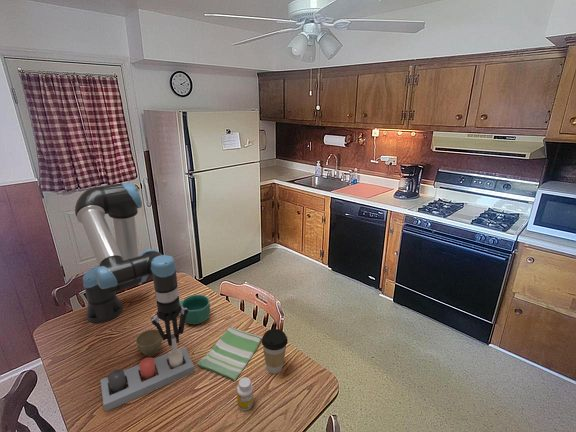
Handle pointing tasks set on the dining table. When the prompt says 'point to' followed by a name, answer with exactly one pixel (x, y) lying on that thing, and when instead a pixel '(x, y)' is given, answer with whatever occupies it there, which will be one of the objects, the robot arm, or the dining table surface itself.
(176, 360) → the button ivory
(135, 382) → the panel
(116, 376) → the button black
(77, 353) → the dining table surface
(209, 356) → the dish towel
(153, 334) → the flower pot
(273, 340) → the coffee cup
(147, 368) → the button red
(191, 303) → the mug
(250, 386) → the supplement bottle
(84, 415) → the dining table surface
